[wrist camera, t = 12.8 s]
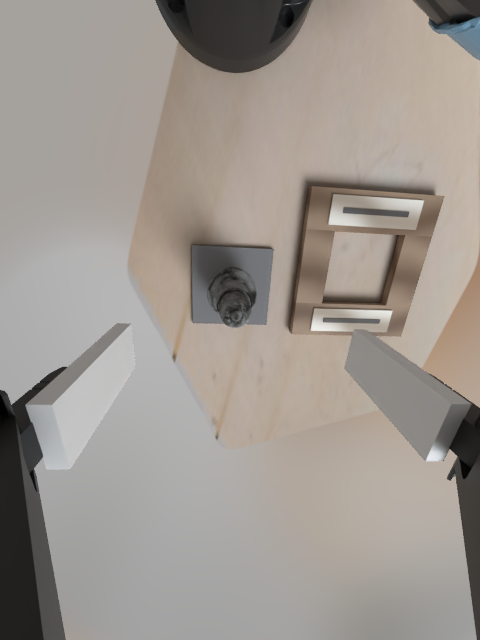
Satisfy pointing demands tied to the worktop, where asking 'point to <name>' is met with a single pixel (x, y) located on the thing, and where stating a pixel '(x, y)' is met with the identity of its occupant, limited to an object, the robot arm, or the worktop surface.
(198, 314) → the rubber mat
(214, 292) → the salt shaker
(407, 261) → the label board
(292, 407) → the worktop surface
